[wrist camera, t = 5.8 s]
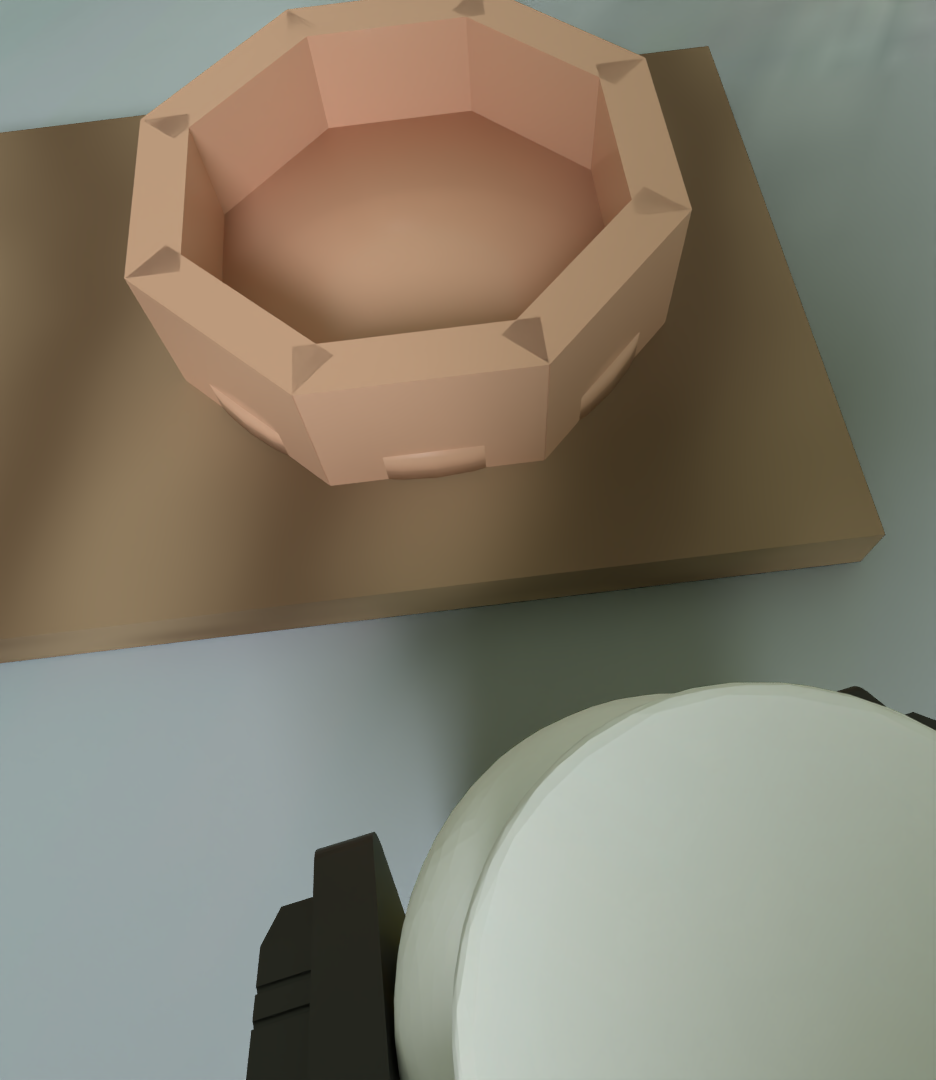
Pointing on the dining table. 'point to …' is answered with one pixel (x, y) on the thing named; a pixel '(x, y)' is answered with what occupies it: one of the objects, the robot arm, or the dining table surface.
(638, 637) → the dining table surface
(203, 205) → the octagonal planter bowl
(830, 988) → the supplement bottle
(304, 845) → the dining table surface
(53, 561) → the walnut board
